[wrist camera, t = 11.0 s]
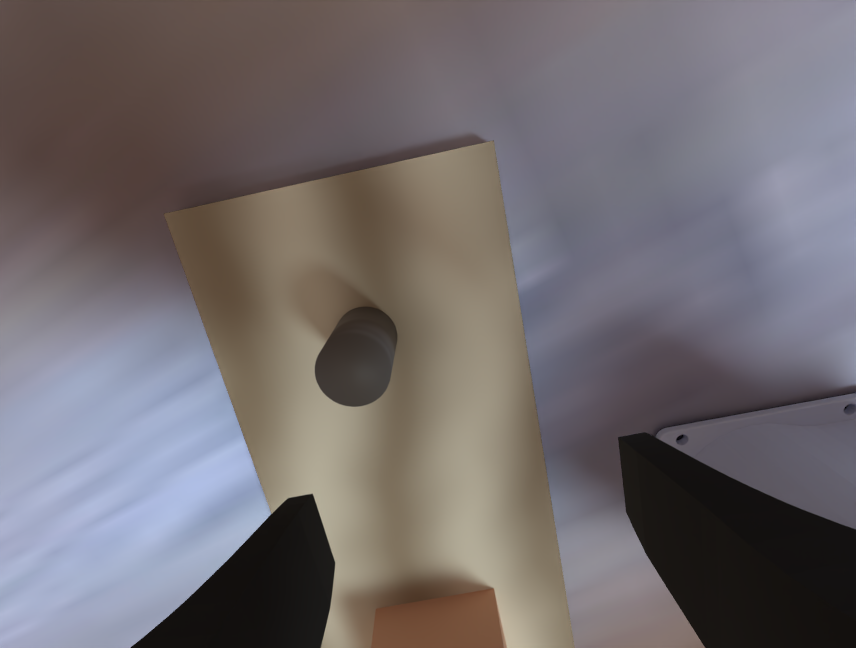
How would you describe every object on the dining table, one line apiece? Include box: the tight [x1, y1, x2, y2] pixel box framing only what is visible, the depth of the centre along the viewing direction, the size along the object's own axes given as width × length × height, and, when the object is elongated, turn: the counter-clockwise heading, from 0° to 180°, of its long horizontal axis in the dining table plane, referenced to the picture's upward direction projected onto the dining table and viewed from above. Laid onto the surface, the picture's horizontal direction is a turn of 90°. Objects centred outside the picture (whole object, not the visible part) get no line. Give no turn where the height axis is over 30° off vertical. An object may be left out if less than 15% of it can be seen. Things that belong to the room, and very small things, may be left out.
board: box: [164, 141, 575, 648], centre depth 20 cm, size 12×28×5 cm, turn 12°
